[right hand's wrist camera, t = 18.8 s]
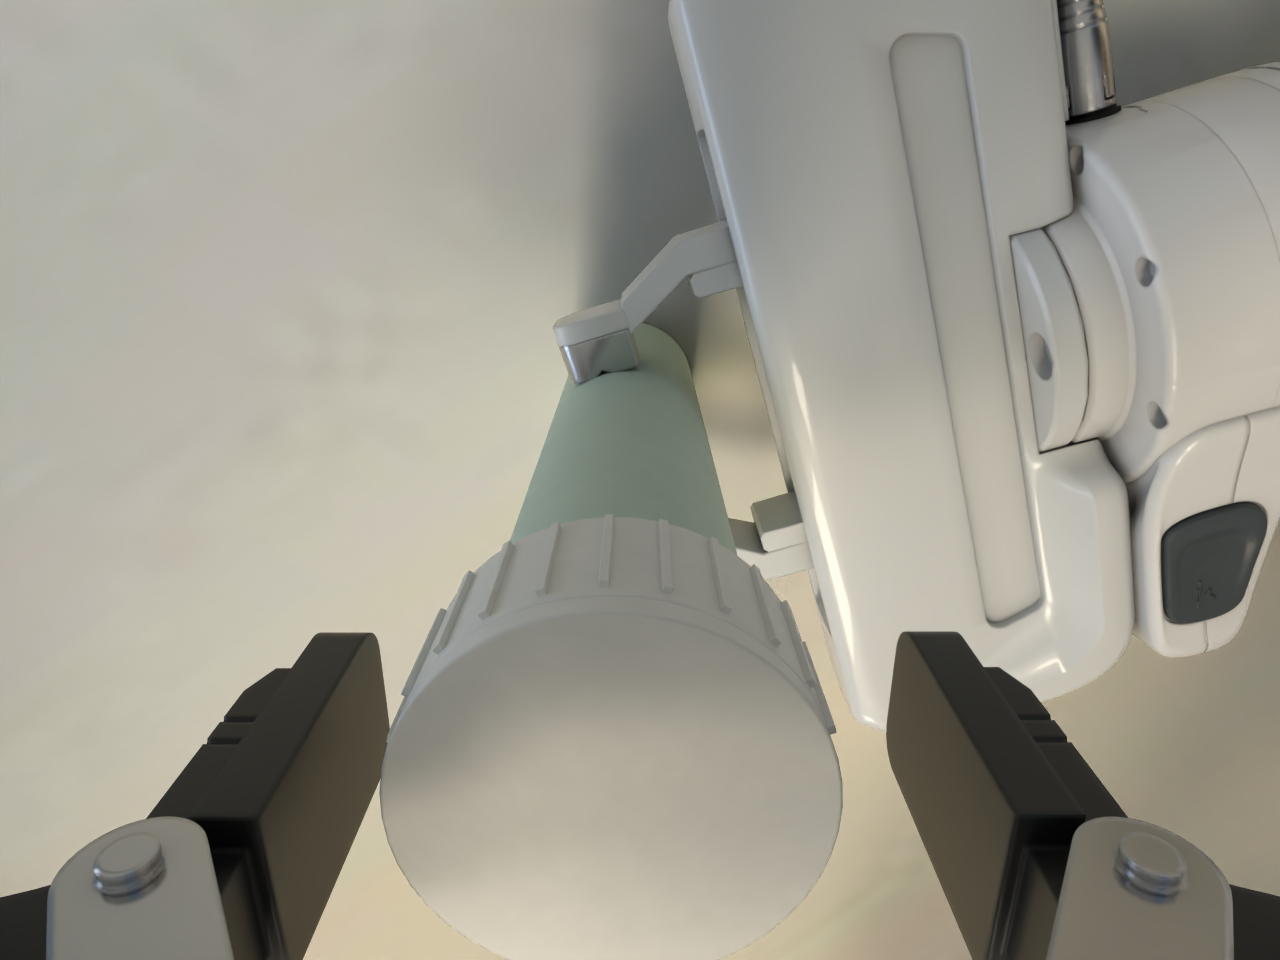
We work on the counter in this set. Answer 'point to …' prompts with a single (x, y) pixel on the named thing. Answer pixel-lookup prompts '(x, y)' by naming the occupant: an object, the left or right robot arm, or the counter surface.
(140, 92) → the counter surface
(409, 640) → the counter surface
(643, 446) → the pale green cylinder
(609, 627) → the lid
